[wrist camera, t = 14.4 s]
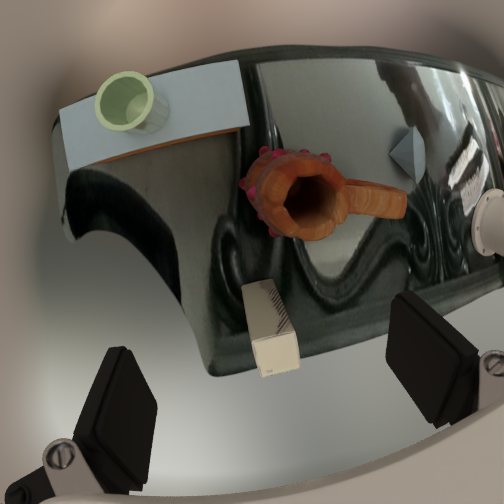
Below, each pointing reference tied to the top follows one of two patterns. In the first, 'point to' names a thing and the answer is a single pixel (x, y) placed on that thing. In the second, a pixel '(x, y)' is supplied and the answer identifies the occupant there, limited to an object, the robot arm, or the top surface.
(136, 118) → the cup
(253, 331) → the box
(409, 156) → the gemstone
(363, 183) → the mug
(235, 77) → the container
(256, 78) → the top surface
